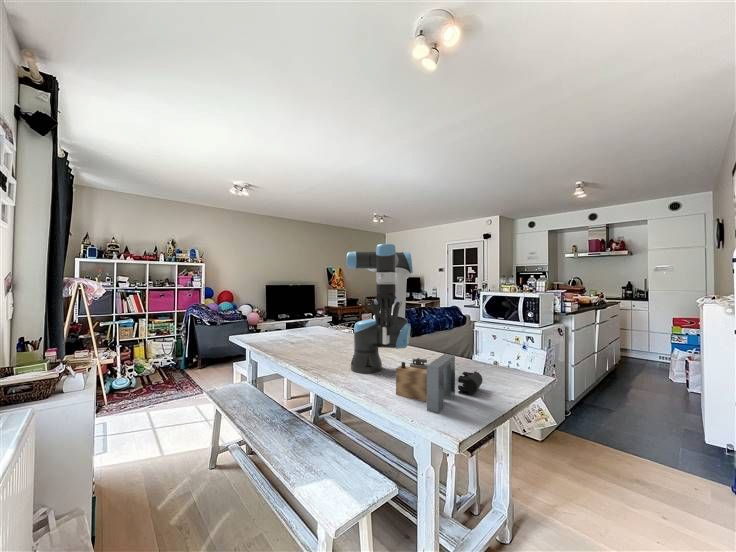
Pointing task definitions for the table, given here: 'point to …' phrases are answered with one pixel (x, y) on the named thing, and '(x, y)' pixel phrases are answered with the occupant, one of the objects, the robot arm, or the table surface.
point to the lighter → (419, 363)
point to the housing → (440, 382)
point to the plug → (411, 382)
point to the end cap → (469, 383)
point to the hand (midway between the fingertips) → (386, 343)
